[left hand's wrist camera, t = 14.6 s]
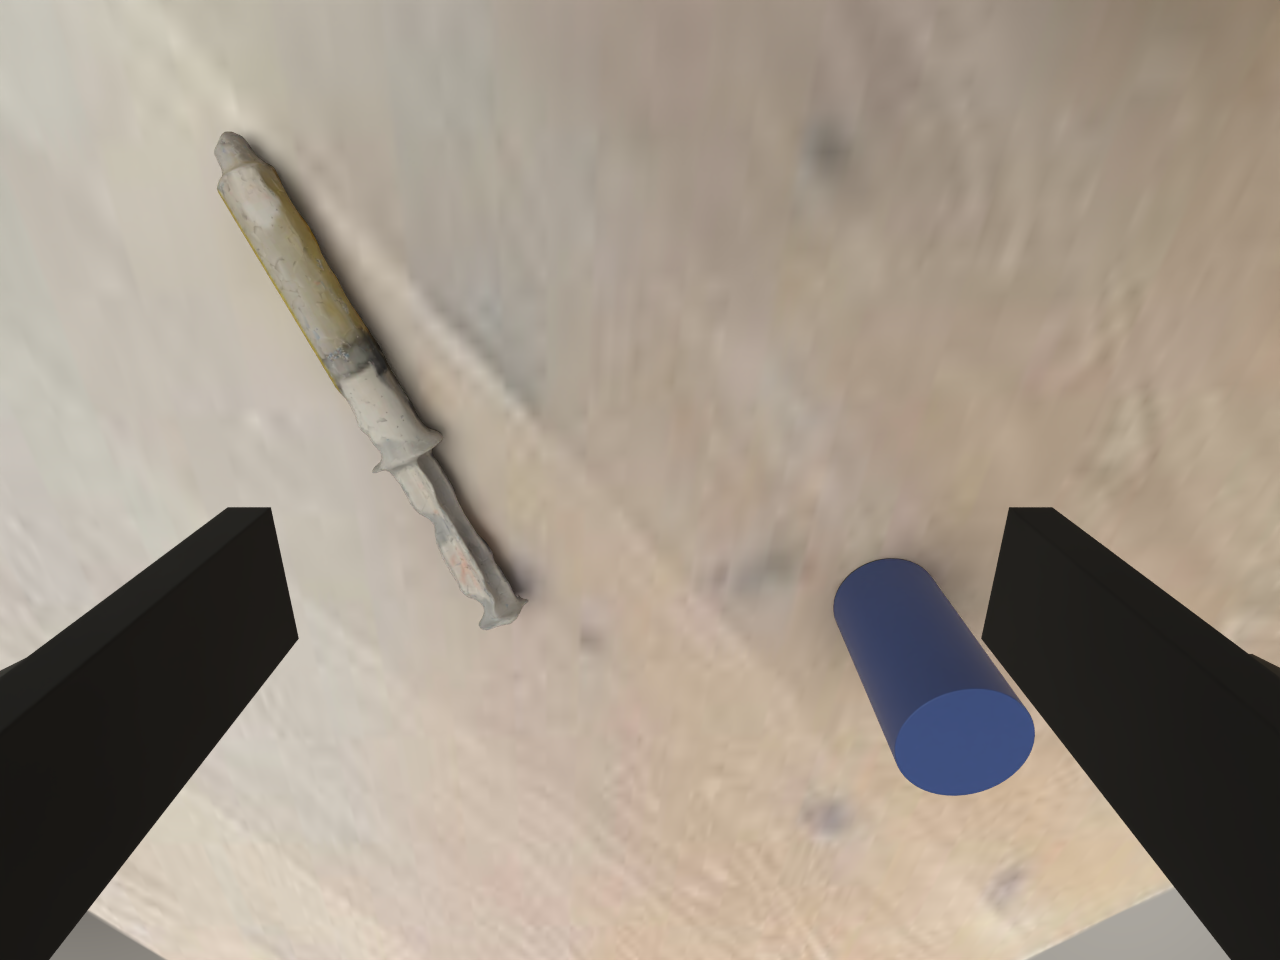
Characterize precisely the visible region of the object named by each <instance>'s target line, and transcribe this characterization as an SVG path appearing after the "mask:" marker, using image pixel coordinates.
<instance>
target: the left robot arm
mask: <svg viewBox="0 0 1280 960" xmlns="http://www.w3.org/2000/svg"><path fill="white" fill-rule="evenodd" d="M298 639H299V638H298V633H297V628H296V624H295V619H294V614H293V610H292V605H291V600H290V596H289V591H288V586H287V581H286V577H285V572H284V567H283V563H282V558H281V553H280V548H279V544H278V539H277V534H276V530H275V525H274V520H273V516H272V511H271V507H228V508H226V509H225V510H224V511H222V512H221V513H220V514H218V515H217V516H216V517H214V518H213V519H212V520H210V521H209V522H208V523H206V524H205V525H204V526H202V527H201V528H199V529H198V530H197V531H195V532H194V533H193V534H191V535H190V536H189V537H187V538H186V539H185V540H183V541H182V542H181V543H179V544H178V545H177V546H175V547H174V548H173V549H171V550H170V551H169V552H167V553H166V554H165V555H163V556H162V557H161V558H159V559H158V560H157V561H155V562H154V563H153V564H151V565H150V566H149V567H147V568H146V569H145V570H143V571H142V572H141V573H139V574H138V575H137V576H135V577H134V578H133V579H131V580H130V581H129V582H127V583H126V584H125V585H123V586H122V587H121V588H119V589H118V590H117V591H115V592H114V593H112V594H111V595H110V596H108V597H107V598H106V599H104V600H103V601H102V602H100V603H99V604H98V605H96V606H95V607H94V608H92V609H91V610H90V611H88V612H87V613H86V614H84V615H83V616H82V617H80V618H79V619H78V620H76V621H75V622H74V623H72V624H71V625H70V626H68V627H67V628H66V629H64V630H63V631H62V632H60V633H59V634H58V635H56V636H55V637H54V638H52V639H51V640H50V641H48V642H47V643H46V644H44V645H43V646H42V647H40V648H39V649H38V650H36V651H35V652H34V653H32V654H31V655H29V656H28V657H27V658H25V659H23V660H21V661H19V662H17V663H15V664H13V665H11V666H9V667H7V668H5V669H3V670H1V671H0V960H49V959H50V958H51V957H52V955H53V954H54V953H55V951H56V950H57V949H58V948H59V946H60V945H61V944H62V942H63V941H64V940H65V939H66V937H67V936H68V935H69V933H70V932H71V931H72V930H73V928H74V927H75V926H76V924H77V923H78V922H79V921H80V919H81V918H82V917H83V915H84V914H85V913H86V912H87V910H88V909H89V908H90V906H91V905H92V904H93V903H94V901H95V900H96V899H97V897H98V896H99V895H100V894H101V892H102V891H103V890H104V888H105V887H106V886H107V885H108V883H109V882H110V881H111V879H112V878H113V877H114V875H115V874H116V873H117V872H118V870H119V869H120V868H121V866H122V865H123V864H124V863H125V861H126V860H127V859H128V857H129V856H130V855H131V854H132V852H133V851H134V850H135V848H136V847H137V846H138V845H139V843H140V842H141V841H142V839H143V838H144V837H145V836H146V834H147V833H148V832H149V830H150V829H151V828H152V827H153V825H154V824H155V823H156V821H157V820H158V819H159V818H160V816H161V815H162V814H163V812H164V811H165V810H166V809H167V807H168V806H169V805H170V803H171V802H172V801H173V800H174V798H175V797H176V796H177V794H178V793H179V792H180V791H181V789H182V788H183V787H184V785H185V784H186V783H187V782H188V780H189V779H190V778H191V776H192V775H193V774H194V773H195V771H196V770H197V769H198V767H199V766H200V765H201V764H202V762H203V761H204V760H205V758H206V757H207V756H208V755H209V753H210V752H211V751H212V749H213V748H214V747H215V746H216V744H217V743H218V742H219V740H220V739H221V738H222V737H223V735H224V734H225V733H226V731H227V730H228V729H229V728H230V726H231V725H232V724H233V722H234V721H235V720H236V719H237V717H238V716H239V715H240V713H241V712H242V711H243V710H244V708H245V707H246V706H247V704H248V703H249V702H250V701H251V699H252V698H253V697H254V695H255V694H256V693H257V692H258V690H259V689H260V688H261V686H262V685H263V684H264V683H265V681H266V680H267V679H268V677H269V676H270V675H271V674H272V672H273V671H274V670H275V668H276V667H277V666H278V665H279V663H280V662H281V661H282V659H283V658H284V657H285V655H286V654H287V653H288V652H289V650H290V649H291V648H292V646H293V645H294V644H295V643H296V641H297V640H298ZM981 639H982V640H983V641H984V643H985V644H986V645H987V646H988V648H989V649H990V650H991V652H992V653H993V654H994V655H995V657H996V658H997V659H998V661H999V662H1000V663H1001V665H1002V666H1003V667H1004V668H1005V670H1006V671H1007V672H1008V674H1009V675H1010V676H1011V677H1012V679H1013V680H1014V681H1015V683H1016V684H1017V685H1018V686H1019V688H1020V689H1021V690H1022V692H1023V693H1024V694H1025V695H1026V697H1027V698H1028V699H1029V701H1030V702H1031V703H1032V704H1033V706H1034V707H1035V708H1036V710H1037V711H1038V712H1039V713H1040V715H1041V716H1042V717H1043V719H1044V720H1045V721H1046V722H1047V724H1048V725H1049V726H1050V728H1051V729H1052V730H1053V731H1054V733H1055V734H1056V735H1057V737H1058V738H1059V739H1060V740H1061V742H1062V743H1063V744H1064V746H1065V747H1066V748H1067V749H1068V751H1069V752H1070V753H1071V755H1072V756H1073V757H1074V758H1075V760H1076V761H1077V762H1078V764H1079V765H1080V766H1081V767H1082V769H1083V770H1084V771H1085V773H1086V774H1087V775H1088V776H1089V778H1090V779H1091V780H1092V782H1093V783H1094V784H1095V785H1096V787H1097V788H1098V789H1099V791H1100V792H1101V793H1102V794H1103V796H1104V797H1105V798H1106V800H1107V801H1108V802H1109V803H1110V805H1111V806H1112V807H1113V809H1114V810H1115V811H1116V812H1117V814H1118V815H1119V816H1120V818H1121V819H1122V820H1123V821H1124V823H1125V824H1126V825H1127V827H1128V828H1129V829H1130V830H1131V832H1132V833H1133V834H1134V836H1135V837H1136V838H1137V839H1138V841H1139V842H1140V843H1141V845H1142V846H1143V847H1144V848H1145V850H1146V851H1147V852H1148V854H1149V855H1150V856H1151V857H1152V859H1153V860H1154V861H1155V863H1156V864H1157V865H1158V866H1159V868H1160V869H1161V870H1162V872H1163V873H1164V874H1165V875H1166V877H1167V878H1168V879H1169V881H1170V882H1171V883H1172V885H1173V886H1174V887H1175V888H1176V890H1177V891H1178V892H1179V893H1180V895H1181V896H1182V897H1183V899H1184V900H1185V901H1186V903H1187V904H1188V905H1189V906H1190V908H1191V909H1192V910H1193V911H1194V913H1195V914H1196V915H1197V917H1198V918H1199V919H1200V921H1201V922H1202V923H1203V924H1204V926H1205V927H1206V928H1207V929H1208V931H1209V932H1210V933H1211V935H1212V936H1213V937H1214V939H1215V940H1216V941H1217V942H1218V944H1219V945H1220V946H1221V947H1222V949H1223V950H1224V951H1225V953H1226V954H1227V955H1228V957H1229V958H1230V959H1231V960H1280V668H1279V667H1277V666H1275V665H1273V664H1271V663H1269V662H1267V661H1265V660H1263V659H1261V658H1259V657H1257V656H1255V655H1253V654H1248V653H1246V652H1245V651H1244V650H1242V649H1241V648H1240V647H1238V646H1237V645H1236V644H1234V643H1233V642H1232V641H1230V640H1229V639H1228V638H1226V637H1225V636H1224V635H1222V634H1221V633H1220V632H1218V631H1217V630H1216V629H1214V628H1213V627H1212V626H1210V625H1209V624H1208V623H1206V622H1205V621H1204V620H1202V619H1201V618H1200V617H1198V616H1197V615H1196V614H1194V613H1193V612H1192V611H1190V610H1189V609H1188V608H1186V607H1185V606H1184V605H1182V604H1181V603H1180V602H1178V601H1177V600H1176V599H1174V598H1173V597H1172V596H1170V595H1169V594H1168V593H1166V592H1165V591H1163V590H1162V589H1161V588H1159V587H1158V586H1157V585H1155V584H1154V583H1153V582H1151V581H1150V580H1149V579H1147V578H1146V577H1145V576H1143V575H1142V574H1141V573H1139V572H1138V571H1137V570H1135V569H1134V568H1133V567H1131V566H1130V565H1129V564H1127V563H1126V562H1125V561H1123V560H1122V559H1121V558H1119V557H1118V556H1117V555H1115V554H1114V553H1113V552H1111V551H1110V550H1109V549H1107V548H1106V547H1105V546H1103V545H1102V544H1101V543H1099V542H1098V541H1097V540H1095V539H1094V538H1093V537H1091V536H1090V535H1089V534H1087V533H1086V532H1085V531H1083V530H1082V529H1081V528H1079V527H1078V526H1076V525H1075V524H1074V523H1072V522H1071V521H1070V520H1068V519H1067V518H1066V517H1064V516H1063V515H1062V514H1060V513H1059V512H1058V511H1056V510H1055V509H1054V508H1052V507H1009V511H1008V516H1007V520H1006V525H1005V530H1004V534H1003V539H1002V544H1001V548H1000V553H999V558H998V563H997V567H996V572H995V577H994V581H993V586H992V591H991V596H990V600H989V605H988V610H987V614H986V619H985V624H984V628H983V633H982V638H981Z"/></svg>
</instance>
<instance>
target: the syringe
mask: <svg viewBox="0 0 1280 960" xmlns="http://www.w3.org/2000/svg"><path fill="white" fill-rule="evenodd" d="M214 155H215V157H216V159H217V161H218V163H219V165H220V167H221V169H222V174H223V175H222V177H221V179H220V180H219V183H218V186H217V190H218V193H219V194H220V196H221V198H222V199H223V201H224V203H225V204H226V206H227V208H228V209H229V211H230V213H231V214H232V216H233V218H234V219H235V221H236V223H237V224H238V226H239V228H240V229H241V231H242V233H243V234H244V236H245V237H246V239H247V241H248V242H249V244H250V246H251V247H252V249H253V251H254V253H255V254H256V256H257V257H258V259H259V261H260V262H261V264H262V266H263V267H264V269H265V271H266V272H267V274H268V276H269V277H270V279H271V281H272V282H273V284H274V286H275V287H276V289H277V291H278V292H279V294H280V295H281V297H282V299H283V300H284V302H285V304H286V305H287V307H288V309H289V310H290V312H291V314H292V316H293V317H294V319H295V321H296V322H297V324H298V325H299V327H300V329H301V330H302V332H303V334H304V335H305V337H306V339H307V340H308V342H309V344H310V345H311V347H312V349H313V350H314V352H315V353H316V355H317V357H318V359H319V360H320V362H321V364H322V365H323V367H324V369H325V370H326V372H327V374H328V375H329V377H330V379H331V380H332V382H333V384H334V386H335V387H336V388H337V390H338V391H339V392H340V393H341V394H342V395H343V396H344V397H345V398H346V400H347V401H348V402H349V404H350V406H351V408H352V410H353V412H354V414H355V416H356V420H357V423H358V426H359V428H360V429H361V430H362V431H363V432H364V433H365V434H366V435H368V437H369V438H370V440H371V441H372V443H373V444H374V446H375V447H376V448H377V449H378V450H379V451H380V453H381V454H382V459H381V462H380V463H379V464H378V465H377V466H375V467H374V469H373V471H372V473H377V472H380V471H383V470H386V471H389V472H390V473H391V474H392V475H393V476H394V477H395V479H396V480H397V481H398V483H399V484H400V485H401V487H402V489H403V491H404V492H405V494H406V496H407V498H408V500H409V502H410V504H411V505H412V506H413V507H414V509H415V510H416V511H417V512H418V513H419V514H421V515H423V516H425V517H426V518H428V519H429V520H431V521H432V523H433V524H434V526H435V537H436V542H437V545H438V548H439V550H440V553H441V556H442V558H443V559H444V561H445V563H446V565H447V566H448V568H449V570H450V572H451V573H452V575H453V576H454V578H455V580H456V581H457V583H458V585H459V588H460V591H461V592H462V593H463V594H465V595H466V596H467V597H469V598H472V599H475V600H477V601H479V602H480V603H481V604H482V605H483V607H484V614H483V617H482V619H481V621H480V622H479V626H480V628H481V629H483V630H489V629H492V628H495V627H498V626H502V625H507V624H510V623H512V622H513V621H514V620H515V619H516V618H517V617H518V615H519V613H520V611H521V609H522V607H523V606H524V605H525V604H526V603H527V602H528V600H527V599H523V598H521V597H520V596H519V597H516V595H515V593H514V591H513V589H512V587H511V585H510V584H509V582H508V580H507V579H506V577H505V575H504V573H503V571H502V570H501V568H500V567H499V566H498V565H497V564H496V562H495V561H494V557H493V553H492V551H491V549H490V547H489V546H488V544H487V543H486V542H485V541H484V540H483V539H482V538H481V537H480V536H479V535H478V534H477V533H476V531H475V529H474V528H473V526H472V525H471V523H470V522H469V520H468V519H467V517H466V516H465V514H464V512H463V510H462V508H461V506H460V504H459V502H458V500H457V498H456V494H455V491H454V488H453V486H452V484H451V483H450V481H449V479H448V477H447V476H446V474H445V472H444V471H443V469H442V467H441V466H440V464H439V463H438V461H437V460H436V459H435V457H434V456H433V454H432V448H434V447H435V446H436V445H437V444H438V443H440V442H441V441H442V439H443V437H442V434H441V433H440V432H438V431H436V430H433V429H429V428H427V427H426V426H425V425H424V424H423V423H422V422H421V420H420V419H419V417H418V415H417V413H416V412H415V410H414V408H413V406H412V404H411V402H410V400H409V399H408V397H407V396H406V394H405V393H404V391H403V389H402V388H401V386H400V384H399V382H398V381H397V379H396V377H395V376H394V374H393V373H392V371H391V369H390V367H389V365H388V363H387V361H386V359H385V357H384V355H383V353H382V351H381V349H380V347H379V345H378V344H377V342H376V341H375V339H374V338H373V336H372V335H371V333H370V332H369V330H368V329H367V327H366V326H365V324H364V323H363V321H362V320H361V318H360V316H359V315H358V313H357V312H356V311H355V309H354V308H353V307H352V305H351V303H350V302H349V300H348V299H347V297H346V295H345V293H344V291H343V289H342V288H341V286H340V284H339V281H338V279H337V277H336V276H335V275H334V273H333V272H332V270H331V269H330V267H329V266H328V264H327V262H326V261H325V259H324V257H323V255H322V253H321V251H320V248H319V245H318V243H317V241H316V238H315V237H314V235H313V233H312V231H311V229H310V228H309V226H308V224H307V223H306V222H305V220H304V219H303V218H302V216H301V215H300V214H299V213H298V211H297V210H296V208H295V207H294V205H293V204H292V202H291V200H290V199H289V197H288V195H287V193H286V191H285V190H284V188H283V186H282V183H281V181H280V178H279V176H278V174H277V172H276V170H275V169H274V167H273V166H271V165H269V164H267V163H265V162H264V161H262V160H261V159H260V158H259V157H258V156H257V155H256V154H255V153H254V152H253V150H252V149H251V147H250V146H249V144H248V143H247V141H246V140H245V139H244V138H243V137H242V136H240V135H238V134H236V133H233V132H224V133H223V134H222V135H221V137H220V139H219V141H218V144H217V146H216V148H215V150H214Z"/></svg>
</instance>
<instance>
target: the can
mask: <svg viewBox="0 0 1280 960" xmlns="http://www.w3.org/2000/svg"><path fill="white" fill-rule="evenodd" d="M834 616H835V620H836V622H837V625H838V627H839V629H840V632H841V634H842V637H843V639H844V641H845V644H846V646H847V648H848V651H849V653H850V655H851V658H852V660H853V662H854V665H855V667H856V669H857V672H858V674H859V676H860V679H861V681H862V684H863V686H864V688H865V691H866V693H867V695H868V698H869V700H870V702H871V705H872V707H873V709H874V712H875V714H876V716H877V719H878V721H879V724H880V726H881V728H882V731H883V733H884V735H885V738H886V740H887V742H888V745H889V747H890V749H891V752H892V754H893V756H894V759H895V761H896V763H897V766H898V768H899V769H900V771H901V773H902V774H903V775H904V776H905V777H906V778H907V779H908V780H909V781H910V782H911V783H913V784H914V785H915V786H917V787H919V788H921V789H923V790H925V791H928V792H931V793H935V794H940V795H951V796H957V795H967V794H973V793H977V792H981V791H984V790H987V789H990V788H992V787H994V786H996V785H998V784H1000V783H1002V782H1003V781H1005V780H1006V779H1008V778H1009V777H1010V776H1012V775H1013V774H1014V773H1015V772H1016V771H1017V770H1018V769H1019V768H1020V767H1021V766H1022V765H1023V764H1024V762H1025V761H1026V759H1027V758H1028V756H1029V754H1030V752H1031V750H1032V747H1033V744H1034V737H1035V730H1034V724H1033V720H1032V718H1031V716H1030V714H1029V712H1028V711H1027V709H1026V708H1025V706H1024V705H1023V704H1022V702H1021V701H1020V700H1019V698H1018V697H1017V695H1016V694H1015V693H1014V691H1013V690H1012V688H1011V687H1010V686H1009V684H1008V683H1007V681H1006V680H1005V679H1004V677H1003V676H1002V674H1001V673H1000V672H999V670H998V669H997V668H996V666H995V665H994V663H993V662H992V661H991V659H990V658H989V656H988V655H987V654H986V652H985V651H984V649H983V648H982V647H981V645H980V644H979V642H978V641H977V640H976V638H975V637H974V635H973V634H972V633H971V631H970V630H969V629H968V627H967V626H966V624H965V623H964V622H963V620H962V619H961V617H960V616H959V615H958V613H957V612H956V610H955V609H954V608H953V606H952V605H951V603H950V602H949V601H948V599H947V598H946V597H945V595H944V594H943V592H942V591H941V590H940V588H939V587H938V585H937V584H936V583H935V581H934V580H933V578H932V577H931V576H930V574H929V573H928V572H927V571H926V570H924V569H923V568H922V567H920V566H919V565H917V564H915V563H912V562H910V561H906V560H902V559H882V560H877V561H873V562H870V563H868V564H866V565H863V566H861V567H860V568H858V569H856V570H855V571H854V572H852V573H851V574H850V575H849V576H848V577H847V578H846V579H845V580H844V581H843V583H842V584H841V586H840V587H839V589H838V591H837V593H836V596H835V600H834Z"/></svg>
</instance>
